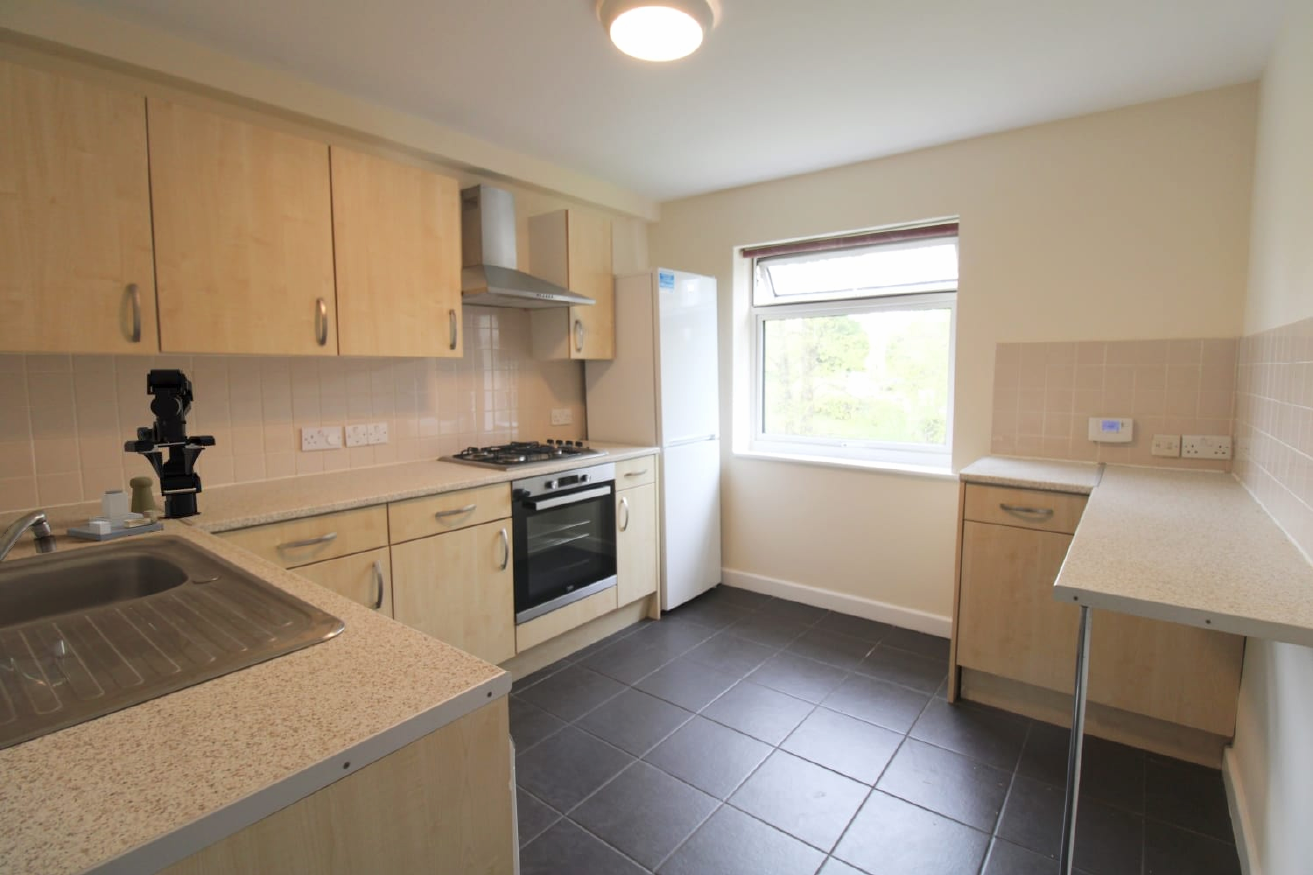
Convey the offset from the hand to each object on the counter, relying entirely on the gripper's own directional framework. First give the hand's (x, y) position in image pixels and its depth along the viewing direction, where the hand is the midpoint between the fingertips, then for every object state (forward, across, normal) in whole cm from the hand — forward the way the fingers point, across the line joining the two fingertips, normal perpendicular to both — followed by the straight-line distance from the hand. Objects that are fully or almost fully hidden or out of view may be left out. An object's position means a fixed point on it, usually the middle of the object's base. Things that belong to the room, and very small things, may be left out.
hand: (174, 476), depth 166 cm
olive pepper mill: (+13, -4, -27) cm, 30 cm away
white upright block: (+12, +9, -9) cm, 18 cm away
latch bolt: (+11, +8, 0) cm, 14 cm away
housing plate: (+13, +12, -5) cm, 18 cm away
